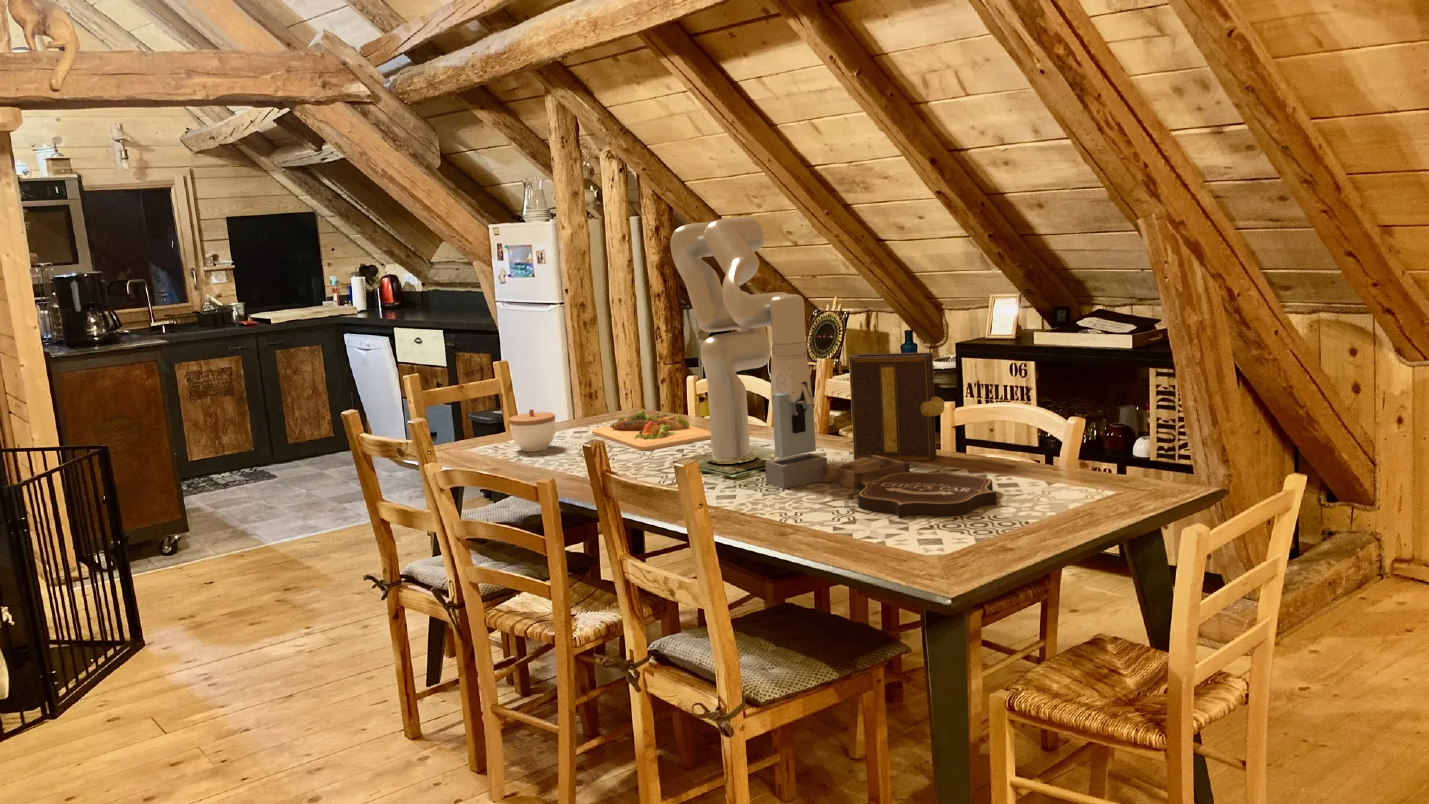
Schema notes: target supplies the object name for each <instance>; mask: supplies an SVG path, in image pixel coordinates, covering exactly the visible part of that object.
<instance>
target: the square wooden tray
mask: <svg viewBox="0 0 1429 804" xmlns="http://www.w3.org/2000/svg"><path fill="white" fill-rule="evenodd" d="M869 457H870V459H876V460H880V468H878V469H873V470H868V471H864V472H859V473H858V472H854V471H851V470H847V469H843V464H842V465H838V466H836V465H831V464H828V463H827V464H826V465H823V476H824V480H823V481H825V482H829V483H832V484H835V485H838V486H843V487H846V488H849V489H853V490H855V491H856V490H857V491H859V482H869V481H874V480H877V479H880V478H882V477H884V476H886V475H889V474H893V473H901V472H911V470H910V463H909V462H906V461H898V460H894V459H890V458H885V457H881V456H877V455H869Z"/></svg>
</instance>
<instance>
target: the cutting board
mask: <svg viewBox="0 0 1429 804" xmlns="http://www.w3.org/2000/svg"><path fill="white" fill-rule="evenodd" d="M591 432H592V433H591V434H592V435H593V436H596V437H598V438H601V439H605V440H608V441H611V442H614V443H616V444H619V445H623V446H625V447H629V448H631V449H635V450H638V451H651V450H658V449H662V448H668V447H674V446H680V445H685V444H690V443H696V442H702V441H709V440H711V431H709V430H705V429H702V428H698V427H696V426H691V425H690V422H689V421H688V420H687V419H684V418H683V417H682V416H681V414H679V413H676V414H674V415H671V414H668V413H664V412H659V414H658V413H657V415H655V416H652V415H648V414H646V413H645V410H640V411H639V410H638V411H637V412H636V413H635V414H633V415H630V416H627V417H622V416H621V417H619V419H617V420H616V421H613V422H612V423H611V424H610V425H608V426H602V427H596V428H593V429H592V430H591Z"/></svg>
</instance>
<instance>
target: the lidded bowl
mask: <svg viewBox="0 0 1429 804" xmlns="http://www.w3.org/2000/svg"><path fill="white" fill-rule="evenodd" d="M508 422H509V429H510V433H511V437H512V440H513V442H514V443H515V445H517V446H518V447H519V448H520V449H521V450H522V452H537V451H538V452H539V451H544V450H547V449H548V448H549V446H550V445H551V443H552V442H553V441H554V438H555V434H556V414H555V413H553V412H547V411H546V412H543V411H541V412H535V410H534V409H529V410H528V412H527V413H522V414H517V415H513V416H510V417H509V418H508Z"/></svg>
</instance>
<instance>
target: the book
mask: <svg viewBox="0 0 1429 804" xmlns="http://www.w3.org/2000/svg"><path fill="white" fill-rule="evenodd" d="M933 358H934V357H933V352H893V353H891V352H889V353H888V352H887V353H858V354H857V353H855V354H852V355H850V356H848V366H849V367H848V369H849V370H848V371H849V387H850V389H849V390H850V407H851V408H850V409H851V426H852V427H851V428H852V429H851V430H852V449H853V450H852V451H853V461H854V460H857V459H861V458H870V457H869V455H877V456H881V457H885V458H890V459H894V460H898V461H902V462H906V461H907V462H909V461H910V462H912V461H913V462H932V461H934V457H937V444H936V443H937V439H936V438H937V437H936V418H935V417H937V416H939V415H941V414H943V413H944V411H945V401H944V399H942V398H941V397H939V396H935V387H934V384H935V383H934V362H933V361H934V359H933Z"/></svg>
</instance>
